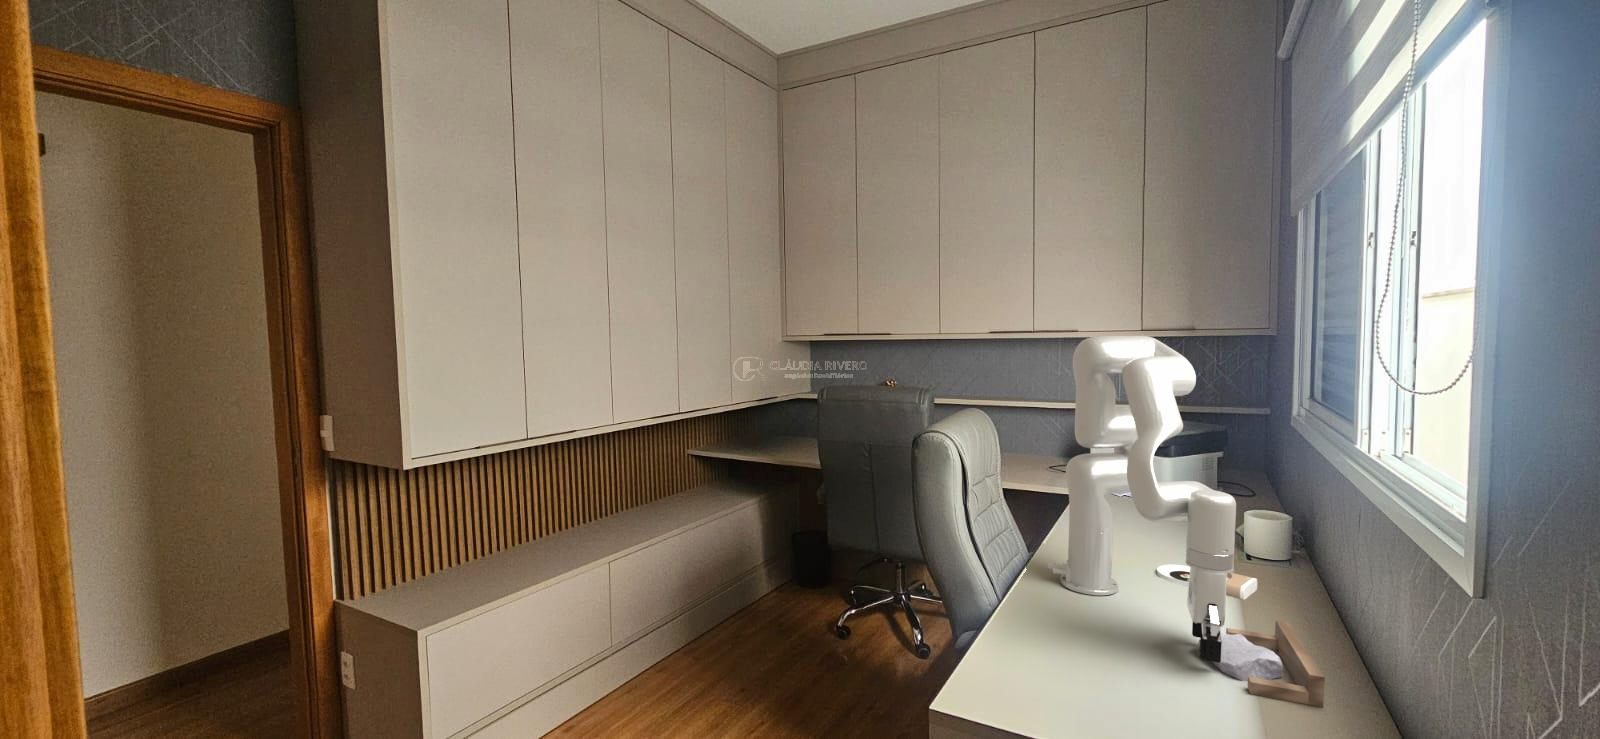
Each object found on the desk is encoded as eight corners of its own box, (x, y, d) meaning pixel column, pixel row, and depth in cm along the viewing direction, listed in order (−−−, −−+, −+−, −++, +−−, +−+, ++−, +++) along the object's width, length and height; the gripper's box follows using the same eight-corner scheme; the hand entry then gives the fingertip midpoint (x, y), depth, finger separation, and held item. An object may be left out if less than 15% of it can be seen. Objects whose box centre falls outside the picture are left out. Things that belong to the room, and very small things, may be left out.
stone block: (1239, 693, 116) (1290, 678, 117) (1234, 667, 115) (1285, 652, 117) (1190, 662, 127) (1236, 648, 129) (1186, 638, 127) (1232, 624, 128)
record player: (1242, 589, 150) (1149, 566, 165) (1242, 602, 150) (1149, 578, 165) (1259, 576, 157) (1168, 555, 172) (1258, 589, 157) (1168, 567, 172)
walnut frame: (1250, 693, 112) (1251, 664, 112) (1225, 637, 132) (1227, 613, 132) (1323, 707, 108) (1324, 677, 108) (1286, 647, 128) (1288, 622, 128)
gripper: (1180, 541, 132) (1177, 625, 133) (1192, 571, 116) (1188, 666, 118) (1224, 546, 129) (1221, 632, 130) (1243, 577, 113) (1238, 675, 115)
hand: (1205, 648), depth 124 cm, fingers open, 9 cm apart
